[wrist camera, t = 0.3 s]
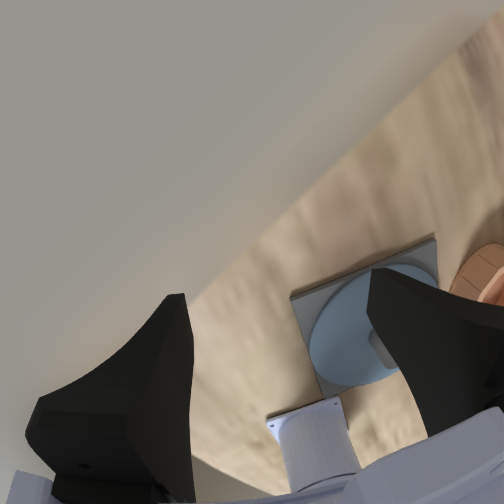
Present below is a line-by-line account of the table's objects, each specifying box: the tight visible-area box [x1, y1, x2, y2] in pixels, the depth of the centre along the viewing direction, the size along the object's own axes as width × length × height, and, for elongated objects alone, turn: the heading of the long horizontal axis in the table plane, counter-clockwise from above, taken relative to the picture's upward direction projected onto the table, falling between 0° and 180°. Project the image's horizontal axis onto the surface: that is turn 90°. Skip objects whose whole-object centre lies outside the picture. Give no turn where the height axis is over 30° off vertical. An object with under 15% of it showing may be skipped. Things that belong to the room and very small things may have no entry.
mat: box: [290, 238, 438, 399], centre depth 26 cm, size 13×13×1 cm
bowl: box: [449, 243, 504, 306], centre depth 25 cm, size 10×10×4 cm
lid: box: [309, 263, 438, 386], centre depth 24 cm, size 13×13×4 cm
